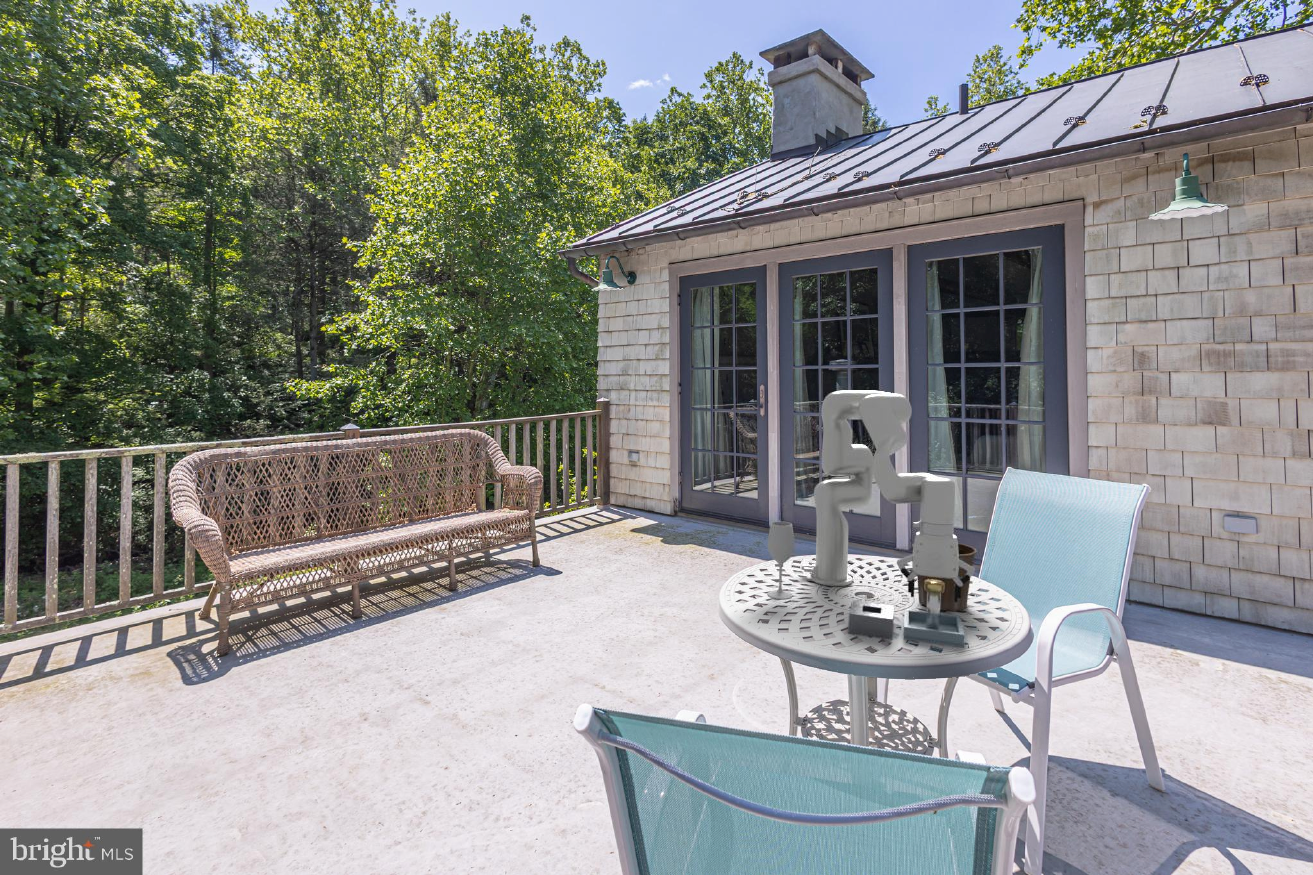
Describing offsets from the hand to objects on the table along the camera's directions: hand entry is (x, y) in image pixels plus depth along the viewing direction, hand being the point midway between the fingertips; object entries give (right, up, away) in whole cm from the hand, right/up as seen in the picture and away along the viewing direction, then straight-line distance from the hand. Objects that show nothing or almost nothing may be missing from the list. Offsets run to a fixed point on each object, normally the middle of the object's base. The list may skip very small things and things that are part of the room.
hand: (933, 598), depth 152 cm
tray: (0, -9, +1) cm, 9 cm away
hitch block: (-14, -9, +3) cm, 17 cm away
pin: (0, -8, +1) cm, 8 cm away
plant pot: (+12, -7, +22) cm, 26 cm away
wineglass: (-32, -7, +29) cm, 43 cm away
